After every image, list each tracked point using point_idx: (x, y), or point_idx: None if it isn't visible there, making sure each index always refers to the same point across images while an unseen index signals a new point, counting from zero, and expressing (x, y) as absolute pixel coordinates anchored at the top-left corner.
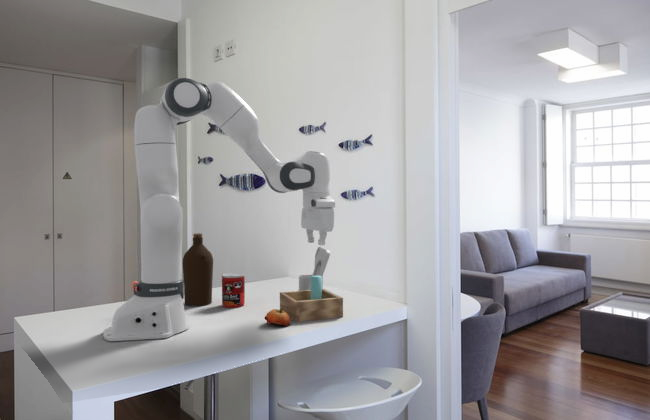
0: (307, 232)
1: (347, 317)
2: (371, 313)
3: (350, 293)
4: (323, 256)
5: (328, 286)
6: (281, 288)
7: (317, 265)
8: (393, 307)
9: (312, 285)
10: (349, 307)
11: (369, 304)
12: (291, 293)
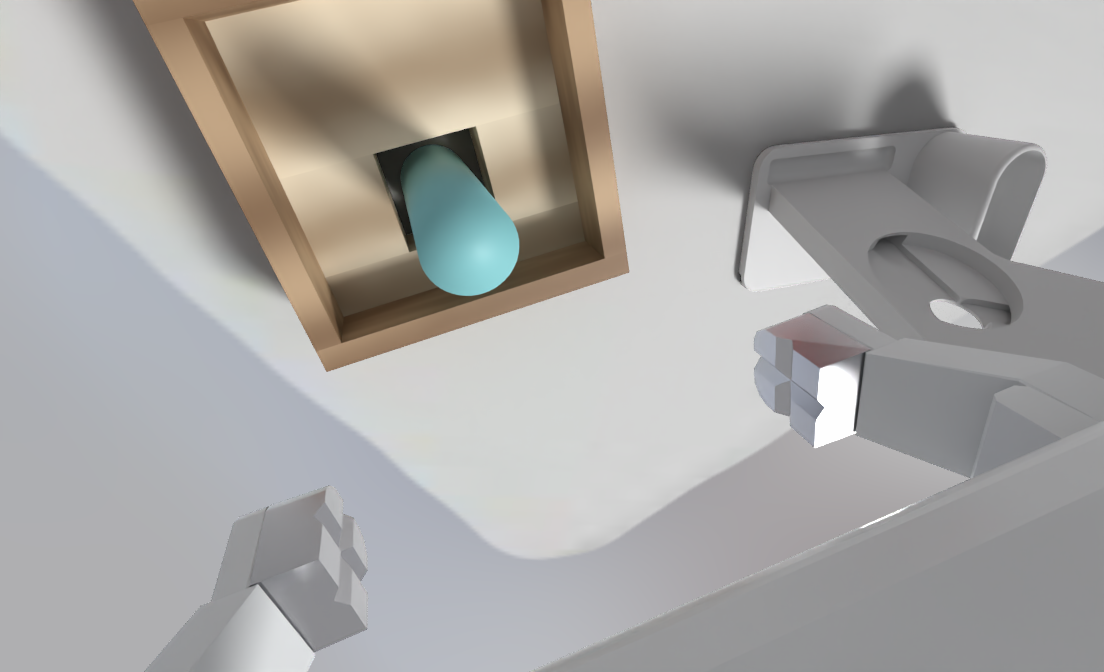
0: (1006, 385)
1: None
2: (400, 447)
3: None
4: None
5: None
6: (1062, 27)
7: (1007, 287)
8: (501, 528)
9: (428, 192)
10: (532, 362)
11: (573, 446)
12: (559, 11)
